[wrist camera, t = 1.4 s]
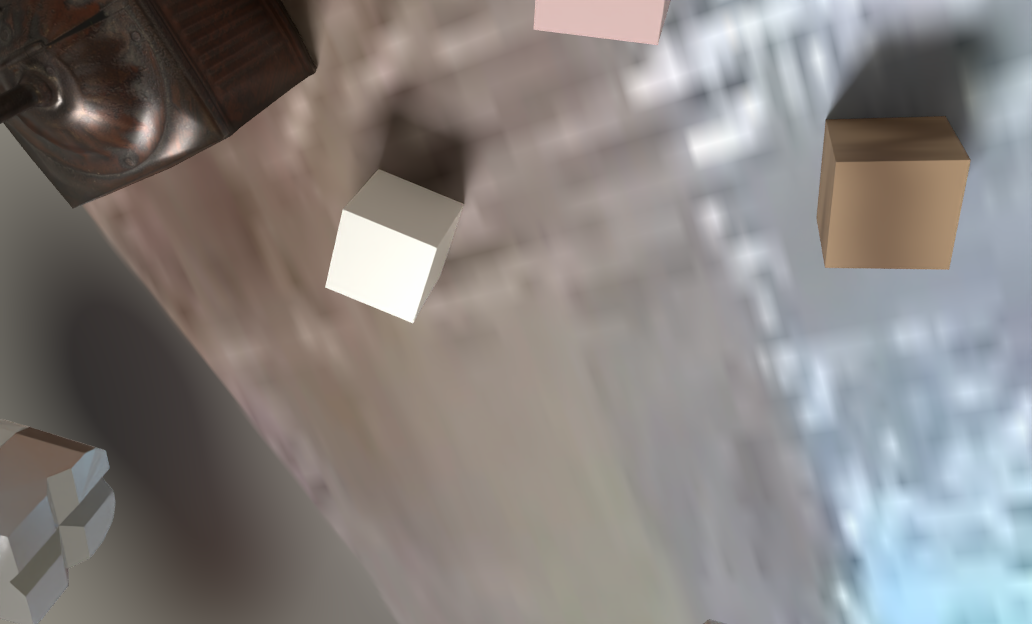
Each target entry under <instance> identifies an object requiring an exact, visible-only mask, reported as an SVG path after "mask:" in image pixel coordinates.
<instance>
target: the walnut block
mask: <svg viewBox="0 0 1032 624" xmlns="http://www.w3.org/2000/svg"><path fill="white" fill-rule="evenodd" d="M969 165H970V158H969V156H968V155H967V153H966V151H965V149H964V148H963V146H962V144H961V143H960V141H959V139H958V137H957V136H956V134H955V132H954V130H953V129H952V127H951V125H950V123H949V122H948V120H947V118H946V116H934V117H898V118H862V119H826V123H825V134H824V144H823V155H822V165H821V176H820V187H819V197H818V208H817V223H818V229H819V235H820V241H821V247H822V253H823V259H824V264H825V268H882V269H949V267H950V262H951V257H952V252H953V247H954V241H955V236H956V231H957V226H958V221H959V216H960V211H961V206H962V201H963V196H964V191H965V186H966V181H967V176H968V171H969Z"/></svg>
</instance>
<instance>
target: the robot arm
mask: <svg viewBox="0 0 1032 624" xmlns="http://www.w3.org/2000/svg"><path fill="white" fill-rule="evenodd" d="M108 469H109V463H108V459H107V454H106V451H105V450H102V449H99V448H96V447H92V446H89V445H86V444H83V443H80V442H76V441H72V440H70V439H66V438H63V437H60V436H57V435H53V434H50V433H47V432H44V431H40V430H37V429H34V428H31V427H28V426H24V425H21V424H17V423H14V422H10V421H7V420H4V419H0V619H2V620H7V621H10V622H14V623H18V624H38V623H39V622H40V621H41V619H42V618H43V617H44V616H45V615H46V613H47V612H48V611H49V610H50V608H51V607H52V606H53V605H54V603H55V602H56V601H57V599H58V598H59V597H60V596H61V594H62V593H63V592H64V590H65V589H66V588H67V587H68V585H69V580H68V579H69V572H68V569H69V568H71V567H73V566H75V565H77V564H79V563H81V562H83V561H85V560H87V559H89V558H91V556H92V555H93V554H94V552H95V551H96V550H97V548H98V547H99V546H100V544H101V543H102V542H103V540H104V538H105V536H106V534H107V532H108V529H109V527H110V525H111V523H112V521H113V516H114V510H115V497H114V491H113V490H112V489H111V487H110V486H109V485H108V484H107V483H106V482H105V480H104V479H103V478H102V476H103V475H104V474H105V473H106V472H107V470H108ZM703 624H725V623H722V622H718V621H714V620H710V619H709V620H707V621H706V622H705V623H703Z"/></svg>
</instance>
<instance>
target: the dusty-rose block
mask: <svg viewBox="0 0 1032 624" xmlns="http://www.w3.org/2000/svg"><path fill="white" fill-rule="evenodd" d="M670 1H671V0H536V3H535V17H534V30H541V31H549V32H557V33H565V34H573V35H581V36H589V37H597V38H605V39H613V40H621V41H630V42H638V43H646V44H654V45H658V42H659V39H660V35H661V32H662V29H663V25H664V22H665V18H666V15H667V11H668V8H669V4H670Z"/></svg>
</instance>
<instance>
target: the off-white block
mask: <svg viewBox="0 0 1032 624" xmlns="http://www.w3.org/2000/svg"><path fill="white" fill-rule="evenodd" d="M463 206H464V204H463V203H460V202H458V201H455V200H453V199H450V198H448V197H446V196H443V195H441V194H438V193H436V192H433V191H431V190H429V189H426V188H424V187H421V186H419V185H416V184H414V183H411V182H409V181H407V180H404V179H402V178H399V177H397V176H394V175H392V174H390V173H387V172H385V171H382V170H380V169H378V170H377V171H376V172H375V173H374V175H373V176H372V177H371V178H370V179H369V180H368V181H367V183H366V184H365V185H364V186H363V187H362V188H361V189H360V190H359V192H358V193H357V194H356V195H355V196H354V197H353V198H352V200H351V201H350V202H349V203H348V204H347V205H346V206H345V208H344V209H343V211H342V216H341V220H340V224H339V229H338V233H337V238H336V242H335V247H334V251H333V255H332V260H331V264H330V269H329V273H328V278H327V282H326V288H328V289H331V290H333V291H336V292H338V293H341V294H343V295H346V296H348V297H350V298H353V299H355V300H358V301H360V302H363V303H365V304H367V305H370V306H372V307H375V308H377V309H380V310H382V311H385V312H387V313H389V314H392V315H394V316H397V317H399V318H402V319H404V320H407V321H409V322H411V323H414V321H415V319H416V317H417V316H418V314H419V312H420V310H421V309H422V307H423V305H424V304H425V302H426V300H427V298H428V297H429V295H430V293H431V291H432V290H433V288H434V286H435V285H436V283H437V281H438V279H439V278H440V276H441V273H442V270H443V267H444V264H445V261H446V258H447V255H448V252H449V249H450V246H451V243H452V240H453V237H454V233H455V230H456V227H457V224H458V221H459V218H460V215H461V212H462V209H463Z"/></svg>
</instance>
